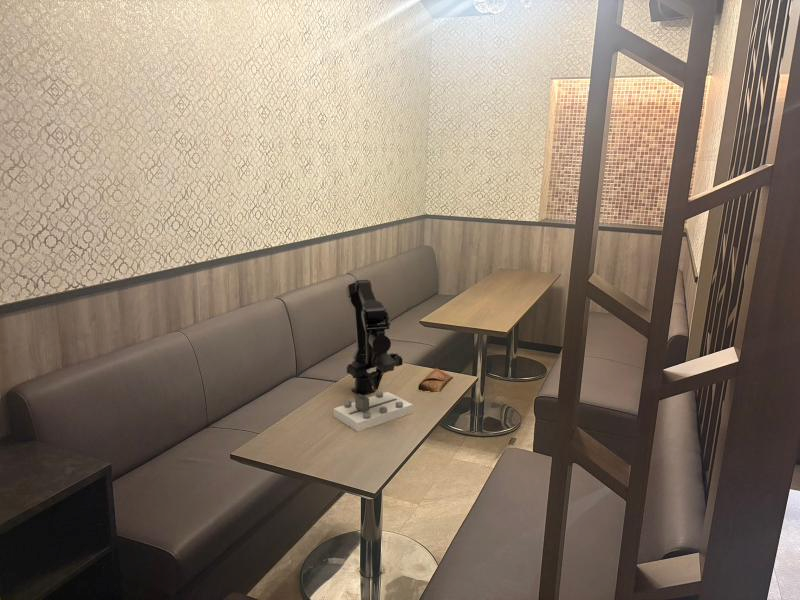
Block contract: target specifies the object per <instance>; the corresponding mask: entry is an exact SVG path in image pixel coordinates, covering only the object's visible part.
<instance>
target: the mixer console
mask: <svg viewBox="0 0 800 600" xmlns="http://www.w3.org/2000/svg"><path fill="white" fill-rule="evenodd" d="M368 398H369V410H368V411H365V412H362V411H360V410H359V409H357V408H356V407H355V401H353V402H352V401H347V400H346V401H344V402H343V405H340V406H337V407H333V418H335V419H336V420H338V421H340V422H341V423H343V424H345V425H347V426H348V427H349V426H350V427H349V428H351V429H352V430H353V431H356V432H357V433H359V432H361V430H362V431H364V429H365V430H367V428H368V429H369V428H373V427H376V426H379V425H382V424H385V423H388V422H391V421H393V420H397V419H399V418H402V416H403V417H405V415H406V416H408V415H411V414H413V413H414V405H413V404H412V403H410V402H409V401H407V400H406V399H405V400H404V399H402V398H400V397H399V396H397V395H394V394H392V393H390V392H388V391H386V392H383V391H377V392H376V393H375V395H373V396H370V397H369V396H368Z"/></svg>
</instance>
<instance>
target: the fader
mask: <svg viewBox="0 0 800 600" xmlns="http://www.w3.org/2000/svg"><path fill="white" fill-rule="evenodd" d="M354 402H355V407H356V408H357V409H359V410H360V411H362V412H365V411H368V410H369V397H368V396H365V395H362V394H361V395H359V394H358V395H355V399H354Z"/></svg>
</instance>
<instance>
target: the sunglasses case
mask: <svg viewBox="0 0 800 600" xmlns="http://www.w3.org/2000/svg"><path fill="white" fill-rule="evenodd" d="M453 377H454V376H452V375H450V374H449V373H447V372H444V371H442V370H440V369H439V368H438V367H435V368H434V369H433V370H431V372H430V373H428V375H426V376H425V378H424V379H422V380H421V382H420V383H419V384H418V390H422V391H421V392H425V391H430V392H429V393H433V392H440V391H442V390H443V389H444V387H445V386H446V385H447V384H448V383H449V382H450V381H452V378H453ZM453 379H454V378H453ZM448 381H449V382H448ZM447 382H448V383H447ZM442 388H443V389H442ZM440 393H441V392H440Z"/></svg>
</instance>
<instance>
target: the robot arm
mask: <svg viewBox="0 0 800 600" xmlns="http://www.w3.org/2000/svg"><path fill="white" fill-rule="evenodd" d="M346 298H348V303H349V304H350V306H351V307H352V308H353V314H354V315H353V316H354V328H355V329H354V330H355V343H356V349H355V352H354V354H353V355H352V361H351V363H350V364H348V365H347V366H346V374H349V375H351V377H352V379H354V383H355V386H354V387H353V388H351V391H352V392H354V393H356V394H358V395H361V394H362V395H363V396H365V395H367V394H371V393H374V392H376V390H378V389H379V386H380V384H381V381H382V378H383V376H384V374H386V373H388V372H392V371H395V367H399V366H403V365H404V362H403V360H404V359H403V357H402V356H400V354H398V353H397V352H396V353H393V352H392V353H388V351H389V350H390V349H391V345H392V342H391V339H390V337H388V336H387V335H386V332H385V330H390V324H391V322H390V317H389V313H388V311H387V308H385V307H384V305H383V303H382V302H380V301H378V300H377V299H376V297H375V294H374V292H373V287H372V282H371V281H370V280H369V279H358V280H355V281H354V282H353V283H349V284H348V285H347V287H346Z"/></svg>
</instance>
